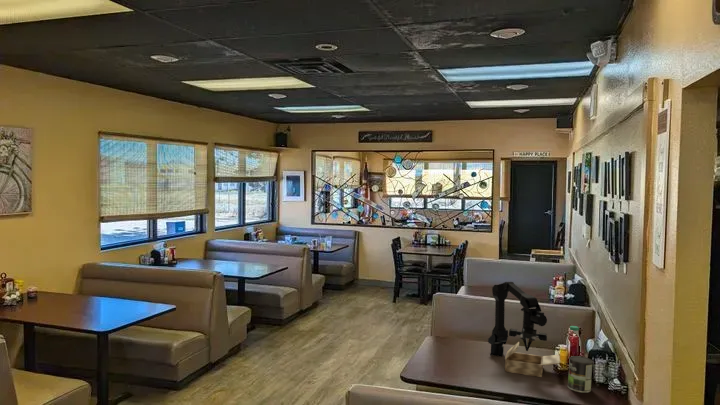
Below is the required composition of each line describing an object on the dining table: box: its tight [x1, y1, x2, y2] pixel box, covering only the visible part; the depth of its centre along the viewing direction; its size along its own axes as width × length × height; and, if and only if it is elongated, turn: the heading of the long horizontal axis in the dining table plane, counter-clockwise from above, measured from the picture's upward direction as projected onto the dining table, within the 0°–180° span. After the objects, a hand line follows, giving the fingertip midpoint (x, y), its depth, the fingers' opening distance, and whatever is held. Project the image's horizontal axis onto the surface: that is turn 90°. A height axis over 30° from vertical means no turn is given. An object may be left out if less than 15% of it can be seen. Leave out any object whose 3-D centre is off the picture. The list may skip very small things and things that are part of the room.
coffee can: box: [567, 356, 594, 394], centre depth 252 cm, size 10×10×14 cm
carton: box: [504, 351, 544, 378], centre depth 277 cm, size 18×16×6 cm
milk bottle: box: [565, 325, 582, 353], centre depth 291 cm, size 8×8×20 cm
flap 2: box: [542, 354, 561, 366], centre depth 272 cm, size 8×15×1 cm, turn 160°
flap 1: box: [504, 341, 520, 360], centre depth 279 cm, size 8×15×1 cm
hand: (527, 350), depth 276 cm, fingers closed
